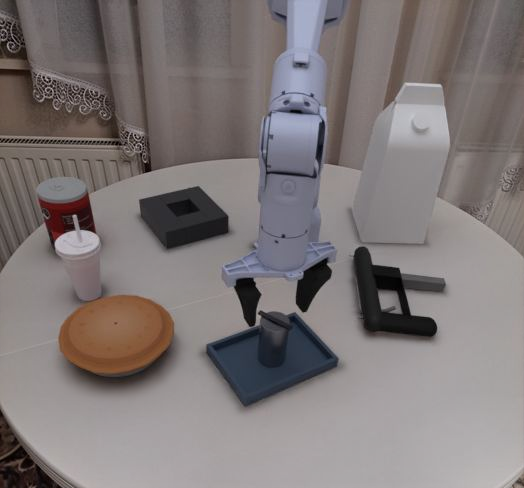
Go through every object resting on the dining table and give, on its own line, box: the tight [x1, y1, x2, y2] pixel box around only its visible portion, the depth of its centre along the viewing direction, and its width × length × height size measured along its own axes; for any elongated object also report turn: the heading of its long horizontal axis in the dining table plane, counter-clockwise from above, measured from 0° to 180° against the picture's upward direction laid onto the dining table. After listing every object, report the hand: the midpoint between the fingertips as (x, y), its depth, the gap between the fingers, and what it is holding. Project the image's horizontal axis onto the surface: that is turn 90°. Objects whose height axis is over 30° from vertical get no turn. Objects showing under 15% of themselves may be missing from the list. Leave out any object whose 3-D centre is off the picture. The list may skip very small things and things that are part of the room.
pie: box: [57, 294, 175, 378], centre depth 71 cm, size 16×16×5 cm
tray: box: [205, 311, 340, 407], centre depth 72 cm, size 15×11×2 cm
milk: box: [351, 82, 451, 245], centre depth 91 cm, size 12×12×26 cm
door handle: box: [348, 245, 447, 338], centre depth 83 cm, size 3×20×16 cm
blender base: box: [138, 185, 229, 250], centre depth 95 cm, size 12×12×4 cm
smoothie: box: [54, 215, 103, 302], centre depth 76 cm, size 6×6×14 cm
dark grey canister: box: [257, 309, 293, 367], centre depth 70 cm, size 4×5×7 cm
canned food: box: [35, 176, 98, 252], centre depth 86 cm, size 8×8×11 cm
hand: (275, 314), depth 67 cm, fingers open, 7 cm apart
